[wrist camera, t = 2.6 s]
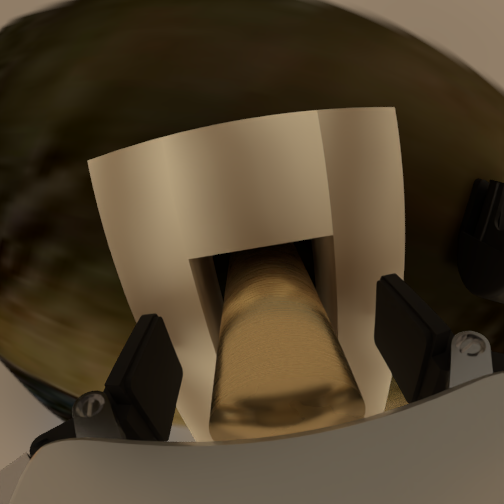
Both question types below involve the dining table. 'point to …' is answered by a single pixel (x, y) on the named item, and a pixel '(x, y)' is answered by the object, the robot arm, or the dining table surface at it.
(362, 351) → the board
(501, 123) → the dining table surface
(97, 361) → the dining table surface
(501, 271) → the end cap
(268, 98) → the dining table surface
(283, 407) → the pin
